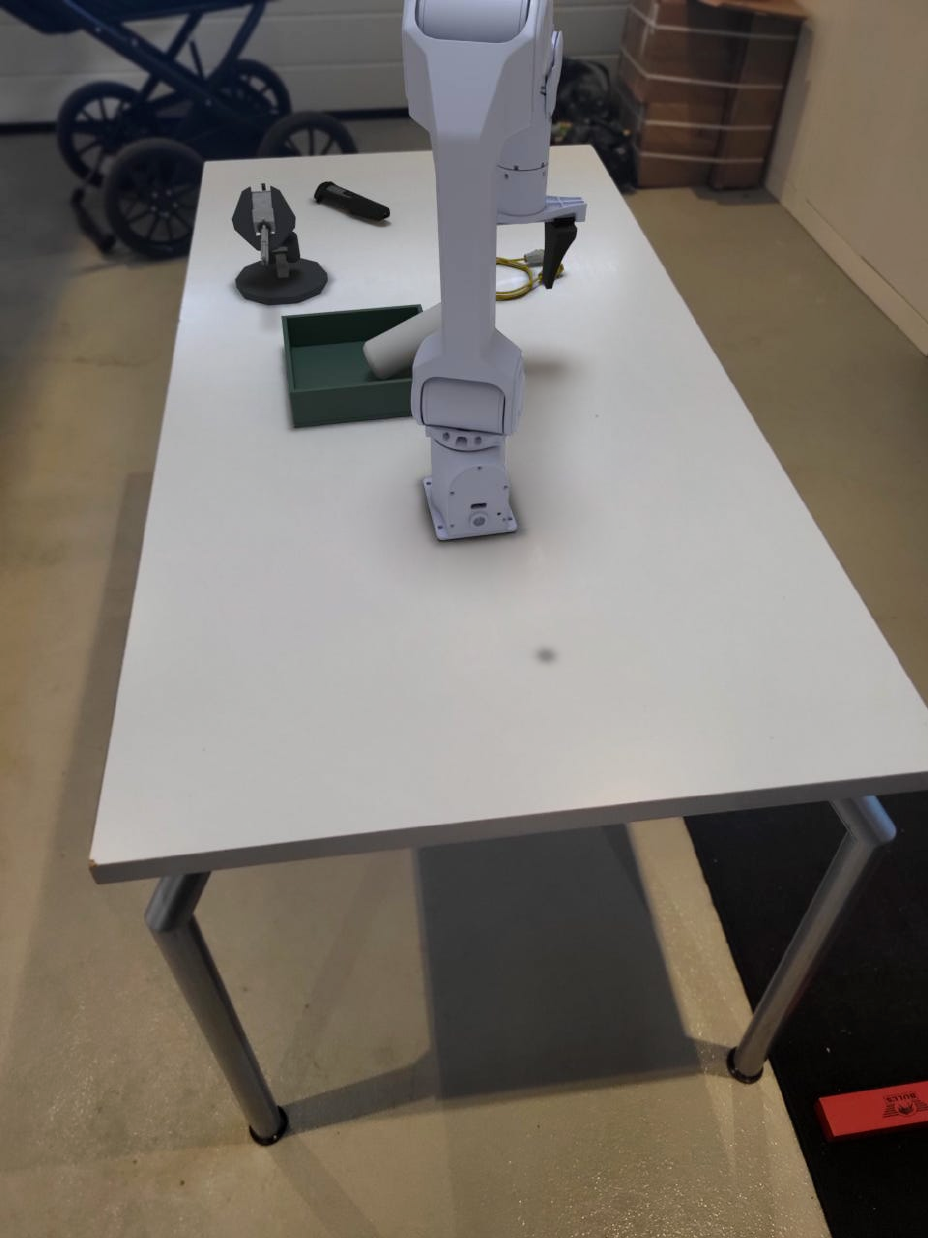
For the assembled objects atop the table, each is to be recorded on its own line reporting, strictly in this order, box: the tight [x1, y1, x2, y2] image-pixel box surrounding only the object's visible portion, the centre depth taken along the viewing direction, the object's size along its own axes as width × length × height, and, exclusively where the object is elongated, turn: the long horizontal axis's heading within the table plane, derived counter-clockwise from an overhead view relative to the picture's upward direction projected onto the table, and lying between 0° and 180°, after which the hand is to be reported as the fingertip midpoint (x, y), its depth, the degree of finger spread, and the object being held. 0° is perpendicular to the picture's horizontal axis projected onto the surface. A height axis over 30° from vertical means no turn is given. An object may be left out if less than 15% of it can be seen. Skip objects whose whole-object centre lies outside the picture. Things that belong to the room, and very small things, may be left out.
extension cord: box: [496, 248, 565, 301], centre depth 123 cm, size 12×16×2 cm
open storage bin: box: [280, 303, 424, 428], centre depth 104 cm, size 17×17×4 cm
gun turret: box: [231, 182, 329, 306], centre depth 116 cm, size 13×20×13 cm, turn 9°
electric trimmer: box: [313, 180, 391, 222], centre depth 138 cm, size 4×16×3 cm, turn 47°
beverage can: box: [363, 301, 442, 380], centre depth 102 cm, size 5×5×12 cm
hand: (514, 287), depth 100 cm, fingers open, 7 cm apart
